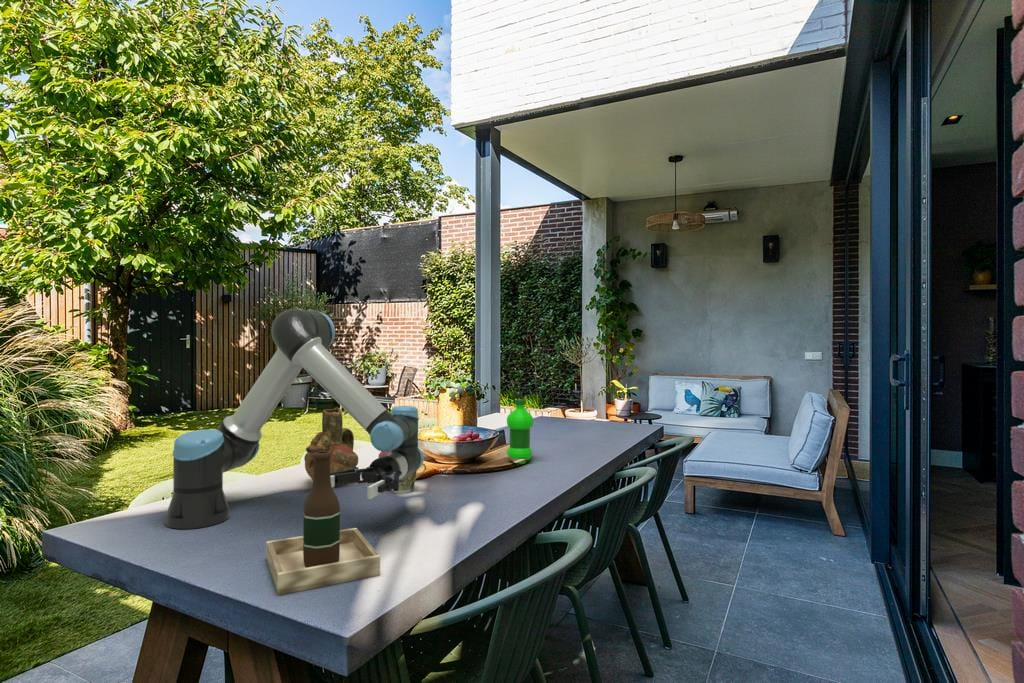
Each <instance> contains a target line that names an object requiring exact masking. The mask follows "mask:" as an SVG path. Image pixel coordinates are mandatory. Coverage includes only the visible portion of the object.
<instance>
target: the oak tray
mask: <svg viewBox="0 0 1024 683" xmlns="http://www.w3.org/2000/svg"><path fill="white" fill-rule="evenodd" d="M265 544H266V548H265V550H266V554H265V555H266V556H265V558H266V563H267V566H268V569H269V572H270V574H271V578H272V582H273V584H274V587H275V591H276V594H277V596H282V595H288V594H292V593H298V592H303V591H307V590H312V589H316V588H322V587H329V586H333V585H338V584H343V583H348V582H354V581H357V580H363V579H368V578H373V577H378V576H381V555H380V554H379V553H378V552H377V551H376V550H375V548H374V547H373V546H372V545H371V544H370V542H369V541H368V540H367V538H365V536H364V535H363V534H362V533H361V531H360V530H359V529H358V528H357V527H351V528H345V529H340V553H339V561H338V562H336V563H330V564H324V565H319V566H313V567H308V568H307V567H305V564H304V558H303V535H301V536H292V537H288V538H281V539H273V540H268V541H266V542H265Z"/></svg>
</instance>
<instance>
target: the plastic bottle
mask: <svg viewBox="0 0 1024 683" xmlns="http://www.w3.org/2000/svg"><path fill="white" fill-rule="evenodd" d="M526 403H527V402H526V399H519V398H518V399H514V405H516V406H515V409H513V410H512V411H511V412H510V413H509V414H508V415H507V418H506V425H507V427H508V428H509V447H508V449H507V450H506V453H507V454H506V455H507V457H508V456H509V457H511V458H514V459H527V460H528V461H530V460H531V458H532V456H533V455H532V454H533V451H532V448H531V445H530V444H531V441H530V440H531V429H532V427H533V424H534V417H533V415H531V413H529V411H528V410H526V409H525V405H527V404H526ZM524 464H527V462H521V463H519V464H518V465H524Z"/></svg>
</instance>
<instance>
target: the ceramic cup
mask: <svg viewBox="0 0 1024 683" xmlns="http://www.w3.org/2000/svg"><path fill="white" fill-rule="evenodd" d="M422 467H424V470H423V471H421V472H420V473H419V474H418V475H417V472H418V470H417V471H415V472H414V473H413V474H410V475H407V476H405V477H403V478H402V481H401V482H400V483H399V490H398V491H393V489H391V492H393V493H394V494H401V495H403V494H409V493H410V494H411V493H412V492H414V487H415V482H416V480H417V479H418V478H419V477H420V476H421V475H422V474H423V473H425V471H426V470H427V466H426V464H425V463H423V464H422Z"/></svg>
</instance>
